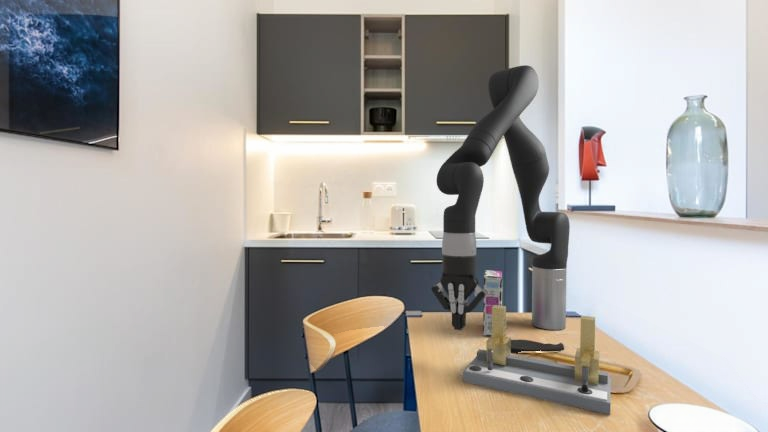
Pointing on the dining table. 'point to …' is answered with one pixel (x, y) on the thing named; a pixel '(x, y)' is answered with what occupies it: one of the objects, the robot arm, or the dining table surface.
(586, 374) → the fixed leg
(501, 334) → the slider
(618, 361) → the dining table surface
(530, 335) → the dining table surface
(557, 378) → the board
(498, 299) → the candy bar box
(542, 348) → the dark sector wedge
